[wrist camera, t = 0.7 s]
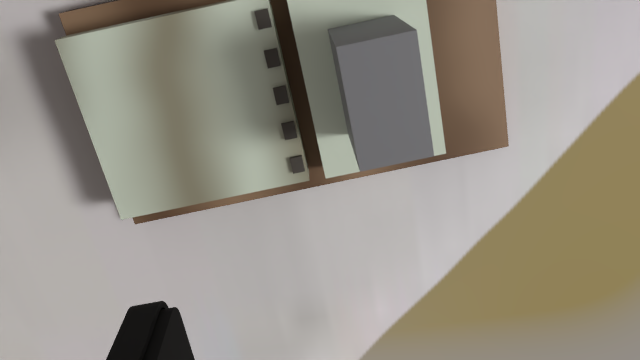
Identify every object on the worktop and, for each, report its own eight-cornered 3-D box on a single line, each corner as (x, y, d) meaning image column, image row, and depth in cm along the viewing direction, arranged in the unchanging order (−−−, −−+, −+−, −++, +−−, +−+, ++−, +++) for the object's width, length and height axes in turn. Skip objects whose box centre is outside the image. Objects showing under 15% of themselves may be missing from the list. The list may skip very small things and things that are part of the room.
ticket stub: (413, -41, 27) (450, -37, 21) (438, 143, 30) (476, 193, 24) (284, -13, 27) (283, 0, 21) (323, 167, 30) (332, 223, 24)
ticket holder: (482, -81, 27) (501, -83, 25) (502, 140, 31) (520, 157, 29) (66, 11, 28) (44, 17, 25) (139, 216, 32) (126, 239, 29)
